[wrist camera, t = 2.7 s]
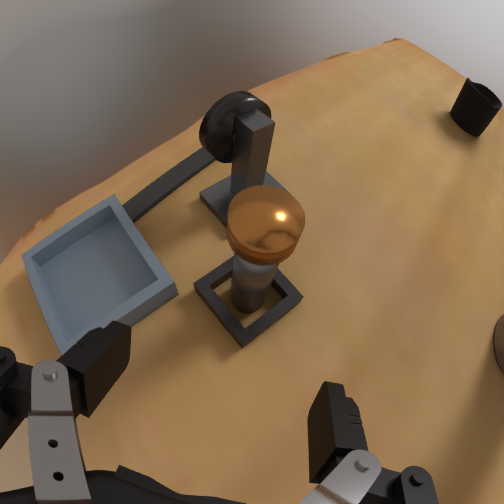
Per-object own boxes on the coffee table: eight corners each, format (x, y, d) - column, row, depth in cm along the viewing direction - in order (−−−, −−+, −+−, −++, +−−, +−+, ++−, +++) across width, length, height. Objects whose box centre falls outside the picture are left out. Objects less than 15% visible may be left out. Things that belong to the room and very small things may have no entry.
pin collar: (252, 250, 31) (253, 242, 30) (299, 302, 29) (303, 296, 28) (194, 289, 29) (193, 283, 27) (242, 348, 27) (243, 345, 25)
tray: (120, 210, 32) (114, 193, 30) (178, 294, 28) (174, 281, 26) (34, 268, 28) (21, 255, 25) (77, 363, 24) (62, 357, 21)
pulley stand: (250, 163, 37) (262, 79, 27) (289, 199, 35) (315, 115, 24) (195, 193, 34) (190, 104, 24) (233, 235, 32) (241, 147, 21)
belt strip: (209, 146, 38) (209, 142, 37) (222, 155, 37) (222, 151, 37) (120, 211, 32) (119, 208, 32) (132, 223, 31) (131, 220, 31)
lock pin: (250, 266, 30) (270, 174, 19) (280, 300, 29) (320, 222, 18) (214, 292, 29) (211, 207, 17) (244, 328, 27) (262, 264, 16)
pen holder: (480, 144, 49) (502, 111, 40) (445, 117, 51) (465, 82, 42) (482, 128, 53) (501, 98, 44) (451, 105, 55) (468, 73, 46)
